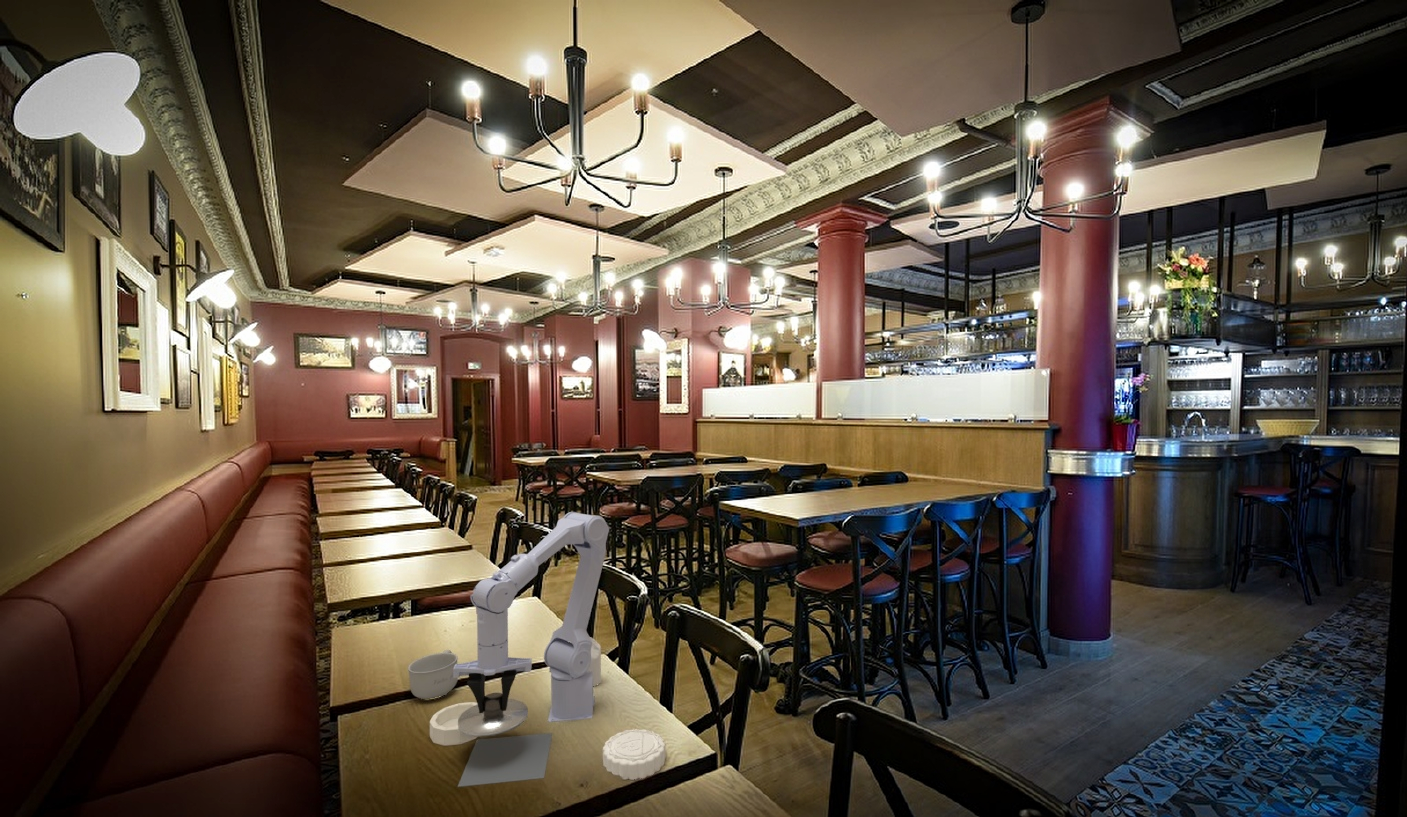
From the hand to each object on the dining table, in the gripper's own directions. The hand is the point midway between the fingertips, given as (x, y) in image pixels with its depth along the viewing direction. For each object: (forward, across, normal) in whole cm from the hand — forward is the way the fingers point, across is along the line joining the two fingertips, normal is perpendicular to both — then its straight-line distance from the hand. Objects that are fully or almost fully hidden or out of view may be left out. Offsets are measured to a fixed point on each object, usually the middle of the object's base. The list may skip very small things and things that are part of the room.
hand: (493, 709), depth 116 cm
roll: (+9, +18, +26) cm, 33 cm away
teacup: (+9, -18, +29) cm, 35 cm away
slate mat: (+8, +3, -4) cm, 10 cm away
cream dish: (+8, -8, +9) cm, 15 cm away
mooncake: (+9, +27, -8) cm, 30 cm away
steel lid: (+2, 0, 0) cm, 2 cm away
